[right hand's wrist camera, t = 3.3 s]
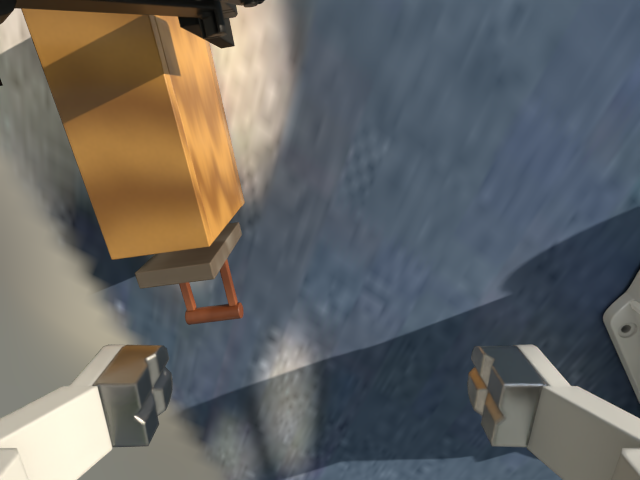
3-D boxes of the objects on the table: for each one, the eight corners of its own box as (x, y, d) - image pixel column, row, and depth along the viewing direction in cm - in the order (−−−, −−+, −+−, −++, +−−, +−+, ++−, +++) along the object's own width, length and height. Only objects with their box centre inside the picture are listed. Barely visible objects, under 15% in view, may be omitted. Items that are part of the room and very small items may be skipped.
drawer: (255, 293, 36) (233, 351, 28) (201, 299, 36) (164, 359, 28) (195, 33, 29) (141, 7, 20) (127, 44, 29) (48, 24, 21)
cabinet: (244, 202, 34) (210, 247, 24) (173, 213, 34) (111, 260, 25) (194, -24, 28) (121, -88, 18) (110, -8, 29) (-6, -63, 19)
